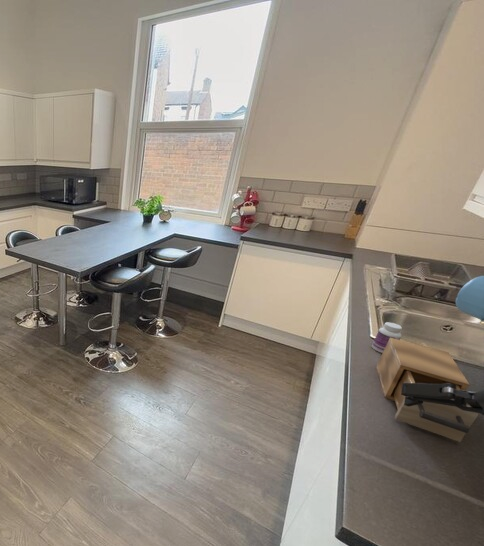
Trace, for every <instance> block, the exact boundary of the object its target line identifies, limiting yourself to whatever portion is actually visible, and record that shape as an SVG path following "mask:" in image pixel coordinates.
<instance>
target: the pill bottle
mask: <svg viewBox="0 0 484 546" xmlns="http://www.w3.org/2000/svg"><path fill="white" fill-rule="evenodd" d="M402 330H403V328H402V326H401V325H399V324H397V323H394V322H388V321H386V322H385V323H384V324H383V326H382V327H380V328H378V331H377V334H376V336H375V338H374V340H373V342H372V344H371V347H372V349H373V350H374V351H376V352H378V353H380V354H382V353H383V351H384V349H385V347H386V345H387V343H388V341H389V338H394V339H398V340H401V338H402V334H401V331H402Z"/></svg>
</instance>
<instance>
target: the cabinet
mask: <svg viewBox="0 0 484 546" xmlns="http://www.w3.org/2000/svg"><path fill="white" fill-rule="evenodd" d="M375 368H376V372H377V375H378V378H379V382H380V387H381V391H382V393H383V397H384V398H385V399H388V400H391V401H394V402H395V399H394V396H393V393H392V392H393V390H394V388H395V386H396V384H397V382H398V380H399V378H400V376H401V374H402V372H403V370H404V369H406V370H409V371H413V372H416V373H420V374H423V375H427V376H430V377H434V378H437V379H441V380H444V381H448V382H451V383H454V384H458V386H459V388H460V389H461V390H464V391H468V388H469V386H470V385H471V384H470V383H469V381H468V380H467V378H466V377H465V375H464V374H463V372H462V371H461V369H460V368H459V366H458V364H457V363H456V361H455V360H454V359H453V357H452V355H451V354H450V352H449V351H445V350H441V349H437V348H433V347H430V346H426V345H422V344H417V343H414V342H410V341H406V340H401V339H400V340H398V339H394V338H389V341H388V343H387V345H386V347H385V349H384V351H383V353H381V356H380V358H379V360H378V362H377V365H376V367H375Z"/></svg>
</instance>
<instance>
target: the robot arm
mask: <svg viewBox="0 0 484 546" xmlns="http://www.w3.org/2000/svg"><path fill="white" fill-rule="evenodd" d="M455 306H456V308H457V309H458V310H459V311H460V312H461V313H464V314H466V315H468V316H470V317H473V318H475V319H478V320H480V321H481V322H483V323H484V275H479V276H476V277H474V278H472V279H471V280H468V281H467V282H466V283H465V284H464V285H463V286H462V287H461V289H460V290H459V291H458V293H457V295H456V298H455ZM401 395H403V396H405V402H404V405H406V406H413V405H418V404H422V403H423V401H424V402H430V403H437V404H443V405H449V406H455V407H458V408H460V409H461V410H464V411H470V412H476V413H479V414H480V415H482V416H484V385H483V386H482V387H481V388H480V389H478V390H477V391H476V390H474V391H473V390H466V391H464V390H456V385H455V384H452V383H445V384H423V383H402V390H401ZM467 403H468V404H469V405H468V406H470V407H468V406H467Z"/></svg>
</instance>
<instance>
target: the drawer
mask: <svg viewBox="0 0 484 546" xmlns="http://www.w3.org/2000/svg"><path fill="white" fill-rule="evenodd" d="M402 383H423V384H445V383H451V382H448V381H444V380H441V379H437V378H434V377H430V376H427V375H423V374H420V373H416V372H413V371H409V370H406V369H404V370H403V372H402V374H401V376H400V378H399V380H398V382H397V384H396V386H395V388H394V390H393V392H392V393H393V396H394V399H395V401H394V403H395V405H396V408H397V411H396V413H395V415H394V418H395V419H396V420H398V421H399V422H403V423H406V424H408V425H411V426H414V427H417V428H419V429H423V430H426V431H428V432H430V433H433V434H435V435H439V436H441V437H445V438H447V439H451V440H453V441H456V442H459V443H461V441H462V440H463V439H464V437H465V435H466V434H468V433H469V432H470V431H471V427H472V425H473V424H474V423H475V421H476V420H477V417H478V416H479V414H480V413H476V412H470V411H464V410H461V409H460V408H458V407H455V406H449V405H443V404H437V403H430V402H424V401H423V403H422V404H418V405H413V406H406V405H404V402H405V396H403V395H401V390H402ZM452 384H454V383H452ZM455 385H456V390H461V389H460V388H459V386H458V384H455ZM467 406H468V407H471V406H470V405H469V404H468V403H467Z"/></svg>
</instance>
